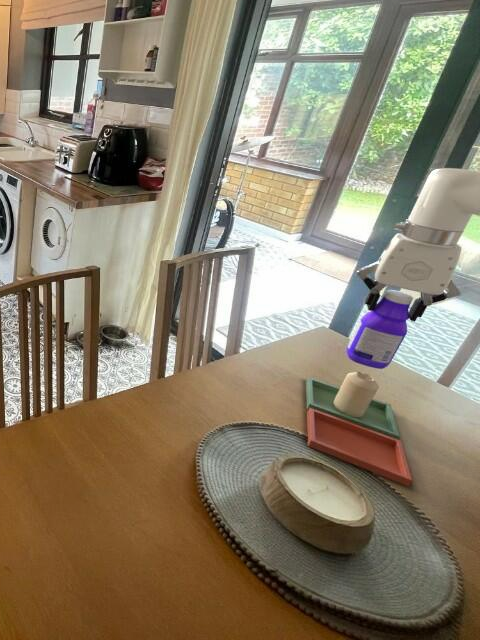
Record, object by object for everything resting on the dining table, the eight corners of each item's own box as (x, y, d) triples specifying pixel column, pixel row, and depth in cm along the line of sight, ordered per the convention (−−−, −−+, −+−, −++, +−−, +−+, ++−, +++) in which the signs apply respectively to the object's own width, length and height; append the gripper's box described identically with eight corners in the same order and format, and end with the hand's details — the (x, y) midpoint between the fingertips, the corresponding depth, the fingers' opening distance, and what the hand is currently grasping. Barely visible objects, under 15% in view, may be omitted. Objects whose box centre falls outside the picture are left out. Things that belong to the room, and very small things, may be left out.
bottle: (383, 360, 92) (418, 292, 85) (390, 374, 88) (427, 304, 81) (342, 349, 96) (372, 283, 89) (346, 362, 91) (378, 294, 84)
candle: (327, 403, 99) (343, 370, 94) (343, 398, 100) (360, 366, 96) (352, 420, 94) (371, 386, 90) (368, 414, 95) (387, 381, 91)
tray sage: (386, 410, 97) (390, 404, 97) (395, 443, 89) (399, 436, 88) (305, 382, 106) (308, 376, 105) (306, 410, 97) (309, 403, 96)
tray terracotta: (396, 447, 88) (401, 440, 87) (407, 487, 79) (412, 480, 78) (306, 413, 96) (309, 407, 95) (307, 447, 88) (311, 440, 87)
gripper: (373, 229, 81) (338, 307, 88) (504, 250, 72) (453, 336, 79) (368, 219, 87) (336, 293, 94) (490, 238, 77) (443, 319, 85)
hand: (390, 312), depth 86 cm, fingers closed on bottle, 5 cm apart
